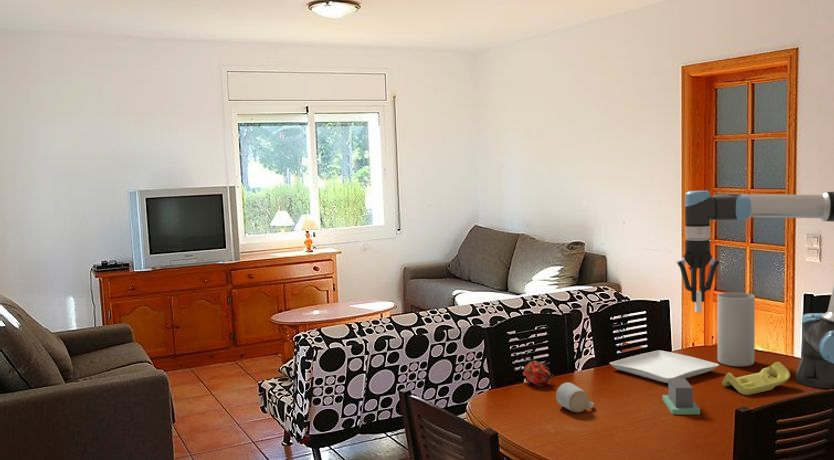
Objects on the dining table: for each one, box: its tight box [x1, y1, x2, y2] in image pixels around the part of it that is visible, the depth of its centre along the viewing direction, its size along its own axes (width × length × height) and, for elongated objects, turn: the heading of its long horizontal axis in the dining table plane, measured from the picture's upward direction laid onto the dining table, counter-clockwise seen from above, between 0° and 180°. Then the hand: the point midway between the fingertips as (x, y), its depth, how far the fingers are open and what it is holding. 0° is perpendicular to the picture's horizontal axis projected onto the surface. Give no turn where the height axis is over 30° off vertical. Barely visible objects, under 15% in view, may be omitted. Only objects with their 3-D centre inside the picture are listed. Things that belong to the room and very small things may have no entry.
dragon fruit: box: [521, 360, 554, 387], centre depth 263 cm, size 8×8×12 cm
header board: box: [662, 394, 701, 415], centre depth 234 cm, size 8×14×5 cm, turn 174°
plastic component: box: [721, 361, 791, 396], centre depth 250 cm, size 20×7×10 cm
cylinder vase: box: [716, 292, 756, 368], centre depth 279 cm, size 12×12×25 cm
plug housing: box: [667, 378, 694, 407], centre depth 236 cm, size 14×5×6 cm, turn 174°
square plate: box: [609, 349, 720, 384], centre depth 272 cm, size 27×27×4 cm
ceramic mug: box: [555, 382, 595, 413], centre depth 236 cm, size 11×8×8 cm
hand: (698, 311), depth 246 cm, fingers closed
